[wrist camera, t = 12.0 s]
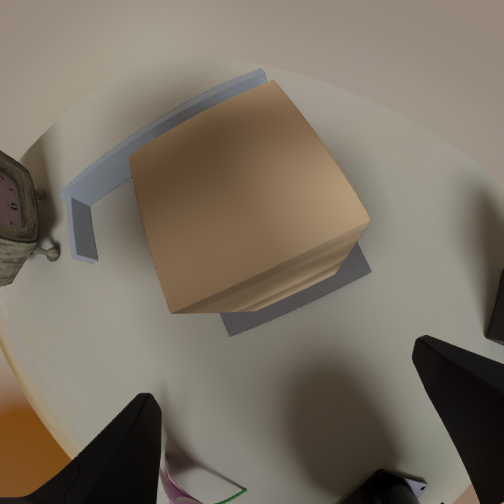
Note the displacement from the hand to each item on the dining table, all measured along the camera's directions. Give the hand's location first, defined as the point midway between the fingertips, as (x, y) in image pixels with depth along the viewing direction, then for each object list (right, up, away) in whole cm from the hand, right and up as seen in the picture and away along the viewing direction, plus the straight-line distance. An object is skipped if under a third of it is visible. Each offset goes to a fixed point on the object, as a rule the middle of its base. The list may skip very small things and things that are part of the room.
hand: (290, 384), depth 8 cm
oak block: (+1, +4, +12) cm, 12 cm away
